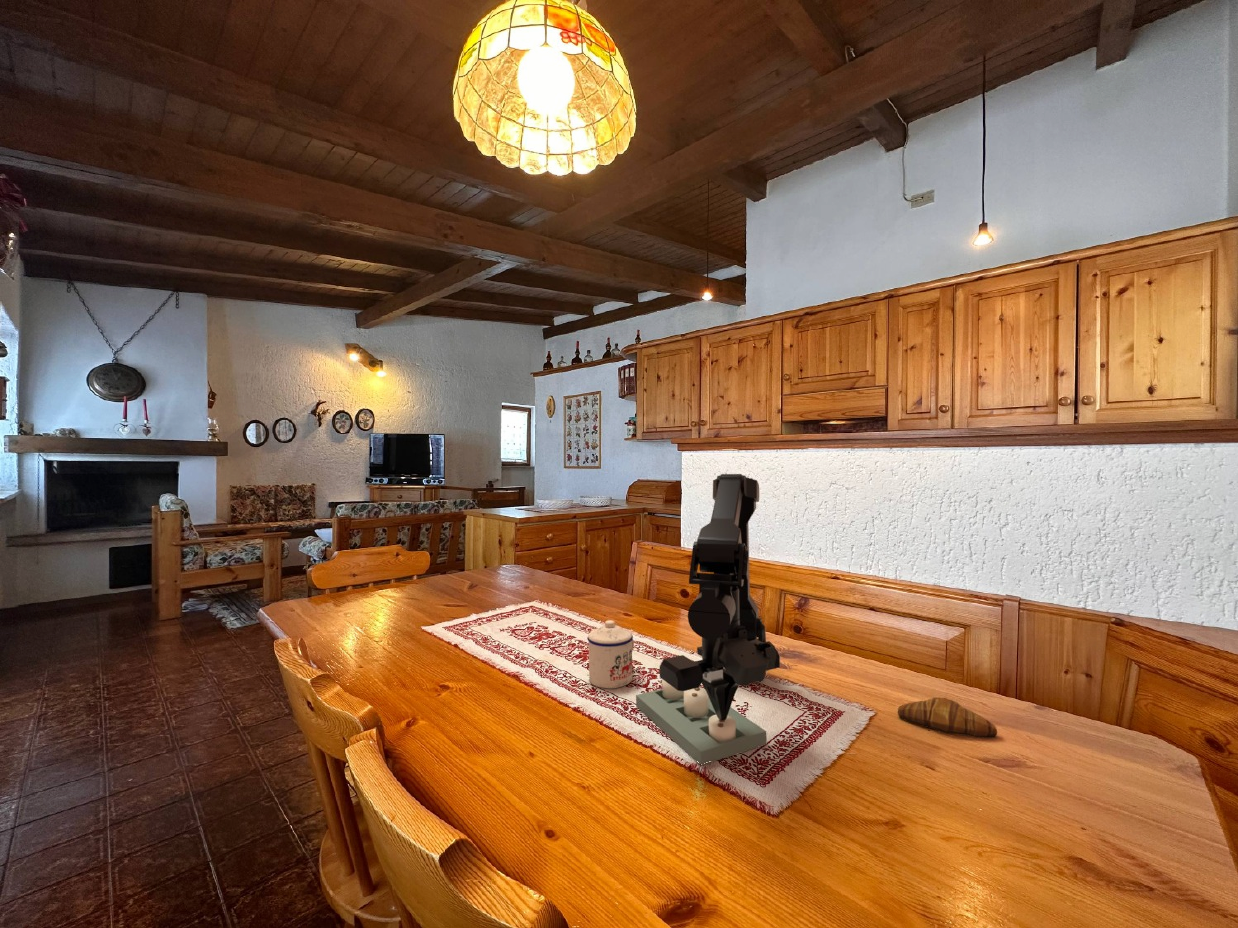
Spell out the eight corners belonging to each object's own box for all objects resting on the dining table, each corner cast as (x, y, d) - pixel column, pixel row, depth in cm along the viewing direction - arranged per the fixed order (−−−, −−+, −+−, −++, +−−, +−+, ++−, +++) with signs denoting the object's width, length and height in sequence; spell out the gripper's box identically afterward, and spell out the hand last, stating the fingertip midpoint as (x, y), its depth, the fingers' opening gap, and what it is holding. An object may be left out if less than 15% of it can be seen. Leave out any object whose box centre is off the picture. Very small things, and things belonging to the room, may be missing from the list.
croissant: (994, 729, 82) (994, 698, 82) (1000, 750, 76) (1000, 716, 76) (898, 709, 89) (898, 681, 89) (896, 727, 83) (896, 696, 83)
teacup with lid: (615, 693, 96) (614, 631, 96) (578, 682, 102) (577, 623, 102) (650, 672, 106) (649, 615, 106) (615, 662, 111) (614, 608, 111)
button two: (699, 703, 88) (699, 684, 88) (713, 714, 84) (713, 693, 84) (679, 709, 86) (679, 688, 86) (692, 719, 82) (692, 698, 82)
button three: (724, 732, 81) (724, 710, 81) (741, 744, 78) (740, 722, 78) (703, 738, 80) (703, 716, 79) (719, 751, 76) (719, 728, 76)
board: (693, 692, 96) (692, 681, 96) (766, 744, 78) (766, 731, 78) (636, 706, 91) (636, 694, 91) (700, 765, 73) (700, 751, 73)
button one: (677, 687, 94) (677, 669, 94) (689, 696, 90) (689, 677, 90) (658, 692, 92) (658, 673, 92) (670, 701, 89) (669, 682, 89)
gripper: (699, 644, 67) (701, 763, 67) (805, 622, 75) (807, 728, 75) (656, 620, 77) (658, 724, 77) (755, 603, 85) (756, 697, 85)
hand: (721, 719), depth 79 cm, fingers closed
